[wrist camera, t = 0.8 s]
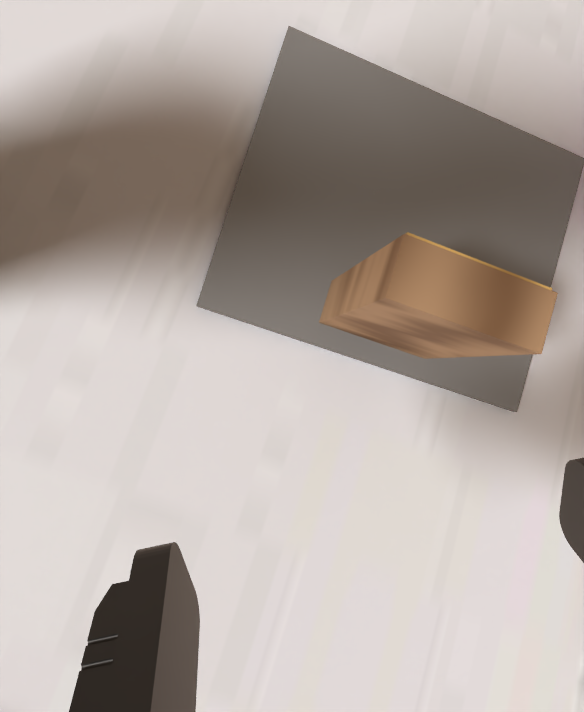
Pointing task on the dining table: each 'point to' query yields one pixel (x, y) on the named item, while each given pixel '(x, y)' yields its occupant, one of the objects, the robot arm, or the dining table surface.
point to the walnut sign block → (439, 303)
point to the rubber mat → (381, 204)
